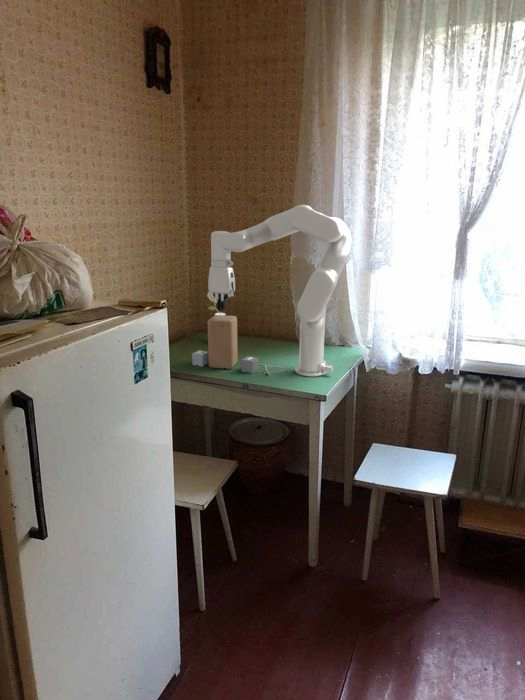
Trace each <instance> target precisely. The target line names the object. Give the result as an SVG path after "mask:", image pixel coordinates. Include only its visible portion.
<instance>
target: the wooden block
mask: <svg viewBox="0 0 525 700" xmlns="http://www.w3.org/2000/svg"><path fill="white" fill-rule="evenodd" d="M207 345H208V347H207V348H208V349H207V350H208V351H207V352H208V356H209V364H208V367H209V368H215V369H224V368H226V370H229V369H230V370H232V369H233V368H234V367H235V365H236V364H237V363H238V362H239V361H238V353H239V352H238V318H237V316H236V315H226V314H225V315H215V314H214V315H213V316H212V317H210V318H209V319H208V320H207Z"/></svg>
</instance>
